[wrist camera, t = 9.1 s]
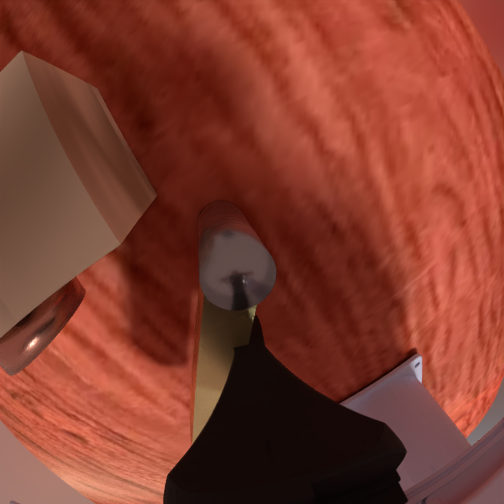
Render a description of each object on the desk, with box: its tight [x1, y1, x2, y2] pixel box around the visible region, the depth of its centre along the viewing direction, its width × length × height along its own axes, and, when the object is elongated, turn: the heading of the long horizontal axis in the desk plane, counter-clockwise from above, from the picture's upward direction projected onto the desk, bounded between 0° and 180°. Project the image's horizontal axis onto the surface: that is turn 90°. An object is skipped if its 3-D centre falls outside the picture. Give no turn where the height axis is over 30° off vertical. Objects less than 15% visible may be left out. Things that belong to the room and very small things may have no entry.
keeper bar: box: [190, 201, 276, 444], centre depth 10 cm, size 10×2×5 cm, turn 170°
